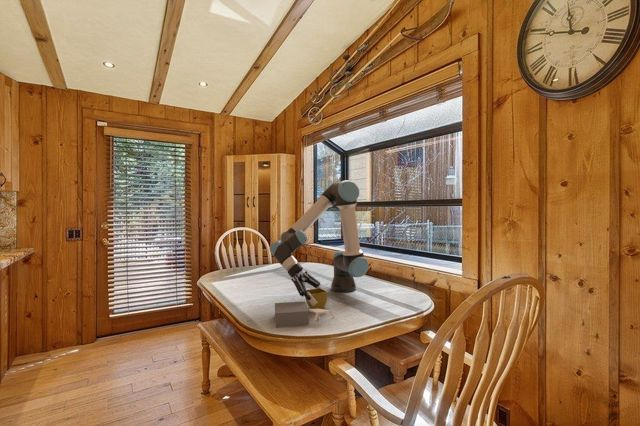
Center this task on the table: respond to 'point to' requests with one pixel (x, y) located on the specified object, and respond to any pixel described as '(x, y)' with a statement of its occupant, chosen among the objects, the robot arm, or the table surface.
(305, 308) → the base block
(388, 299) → the table surface
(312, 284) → the robot arm
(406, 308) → the table surface
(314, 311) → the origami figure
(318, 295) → the flower pot
